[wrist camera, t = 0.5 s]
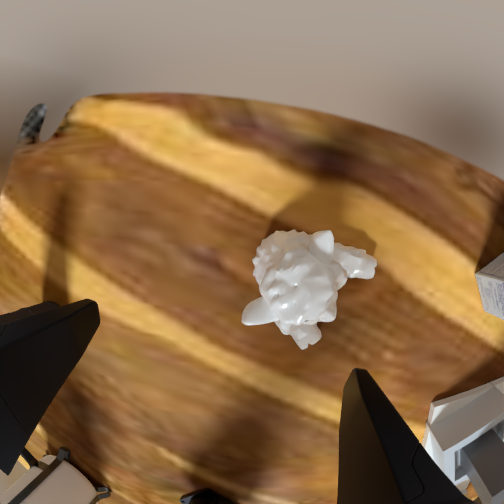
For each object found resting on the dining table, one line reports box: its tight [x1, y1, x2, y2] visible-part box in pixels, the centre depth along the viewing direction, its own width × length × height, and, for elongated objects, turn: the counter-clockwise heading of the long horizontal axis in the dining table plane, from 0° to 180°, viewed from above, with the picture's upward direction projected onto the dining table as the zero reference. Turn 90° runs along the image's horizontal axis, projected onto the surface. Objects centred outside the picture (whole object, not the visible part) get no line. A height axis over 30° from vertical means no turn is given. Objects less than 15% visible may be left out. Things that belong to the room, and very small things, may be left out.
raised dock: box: [426, 382, 504, 486], centre depth 20 cm, size 9×9×6 cm
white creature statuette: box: [242, 229, 377, 350], centre depth 18 cm, size 10×9×12 cm
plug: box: [460, 428, 504, 504], centre depth 14 cm, size 5×4×9 cm
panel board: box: [422, 376, 504, 491], centre depth 23 cm, size 30×11×1 cm, turn 7°
